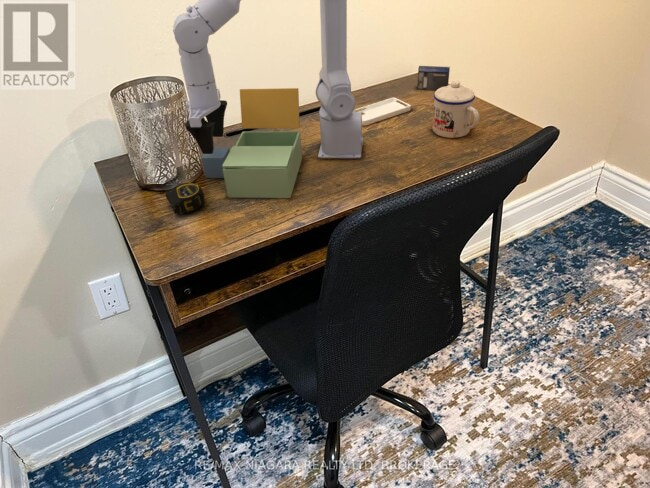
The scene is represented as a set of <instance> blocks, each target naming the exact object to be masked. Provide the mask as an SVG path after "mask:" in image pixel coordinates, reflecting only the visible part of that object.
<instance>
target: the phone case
mask: <svg viewBox="0 0 650 488" xmlns="http://www.w3.org/2000/svg"><path fill="white" fill-rule="evenodd" d="M402 103H403V104H402ZM411 108H412V106H411V104H410V103H407V102H406V101H403V100H401V99H399V98H397V97H389V98H387V99H386V98H385V99H383V100H380V101H376V102H374V103H370V104H367V105H364V106H362V107H358V108H354V110H353V112H357V113H362V127H363V126H369V125H372V124H376V123H378V122H380V121H384V120H387V119H389V118H391V117H392V118H393V117H395V116H398V115H402V114H404V113H407V112H410V111H411Z"/></svg>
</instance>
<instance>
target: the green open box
mask: <svg viewBox="0 0 650 488" xmlns="http://www.w3.org/2000/svg"><path fill="white" fill-rule="evenodd" d="M301 138H302V137H301V131H300V130H271V131H270V130H268V131H267V130H265V131H263V130H261V131H259V130H258V131H253V130H252V131H250V130H249V131H248V130H247V131H246V130H244V131H242V132H241V133H240V135H239V137H238V139H237V141H236V143H235V145H232V147H230V149H229V150H230V152H229V154H228V156H227V158H226V160H225V162H224V163H223V165H222V168H223V174H224V178H223V179H224V183H225V188H226V193H227V198H246V199H250V198H251V199H291V198H292V194H293V191H294V187H295V184H296V181H297V177H298V175H299V171H300V167H301V165H302V160H303V149H302V139H301Z"/></svg>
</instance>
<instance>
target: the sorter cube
mask: <svg viewBox="0 0 650 488" xmlns="http://www.w3.org/2000/svg"><path fill="white" fill-rule="evenodd" d="M230 150H231V149H230V147H219V146H218V147H217V146H216V147H215V146H214V150H213V154H203V153H202V156H201V157H200V160H201V164H202V169H203V173H204V177H205V179H224V174H223V168H222V165H223V163H224V162H225V160H226V158H227V156H228V154H229V152H230Z"/></svg>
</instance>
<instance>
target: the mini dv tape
mask: <svg viewBox="0 0 650 488" xmlns="http://www.w3.org/2000/svg"><path fill="white" fill-rule="evenodd" d="M450 71H451V67H450V66H432V65H418V70H417V87H416V90H422V91H423V90H424V91H436V90H438V89H439V88H441V87H445V86H448V85H449V81H450Z"/></svg>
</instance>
